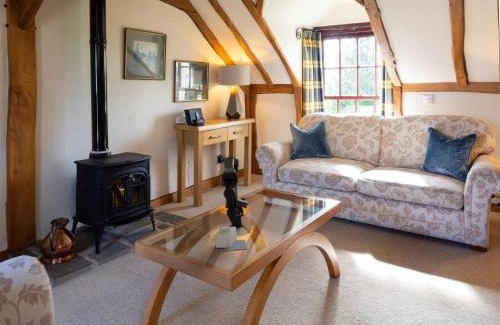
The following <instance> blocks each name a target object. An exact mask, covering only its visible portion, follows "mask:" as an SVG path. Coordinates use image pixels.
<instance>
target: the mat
mask: <svg viewBox="0 0 500 325" xmlns="http://www.w3.org/2000/svg"><path fill="white" fill-rule="evenodd" d="M242 250H243V251H244V250H248V247H247V242H246V240H245V239H237V240H236V241H235V242H234V243H233V245H232V246H231V247H230V248H224V252H234V251H242Z"/></svg>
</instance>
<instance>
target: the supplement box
mask: <svg viewBox="0 0 500 325" xmlns="http://www.w3.org/2000/svg"><path fill="white" fill-rule="evenodd" d="M237 238H238V237H237V228H236V227H230V226H222V227H221V228H220V229H219V230H218V231H216V233H215V234H214V240H215V241H214V242H215V248H216V249H218V248H219V249H222V248H223V249H225V248H230V247H231V246H232V245H233V243H234V242H235V241H236V240H238V239H237Z"/></svg>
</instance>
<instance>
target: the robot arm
mask: <svg viewBox="0 0 500 325" xmlns="http://www.w3.org/2000/svg"><path fill="white" fill-rule="evenodd" d="M223 167H224V170H223V171H222V173H221V187H224V191H223V198H225V205H224V206H225V209H226V210H225V211H226V216H227V217H228V219H229V221H230V224H229V226H228V227H236V229H239V228H241V227H244V226H245V224H242V217H244V216H245V214H244V213H245V211H244V209H247V207H248V204H249V201H248V200H246V198H245V197H241V198H239V197H238V184H239V174H238V171H239V168H240V160H239V158H236V157H235V156H227V157H225V159H224V160H223Z"/></svg>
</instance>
